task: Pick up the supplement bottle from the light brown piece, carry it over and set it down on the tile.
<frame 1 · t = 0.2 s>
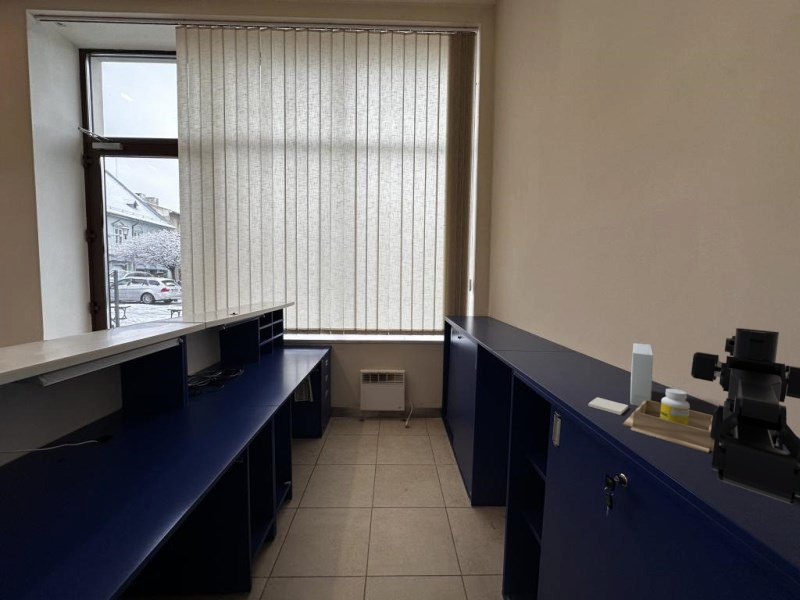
hand: (747, 369, 78), 17 cm above the table, tool horizontal, fingers open, 9 cm apart
supplement bottle: (672, 430, 82), resting in light brown piece
tile: (608, 406, 95), on the table
skincare box: (638, 397, 105), on the table
light brown piece: (672, 429, 82), on the table
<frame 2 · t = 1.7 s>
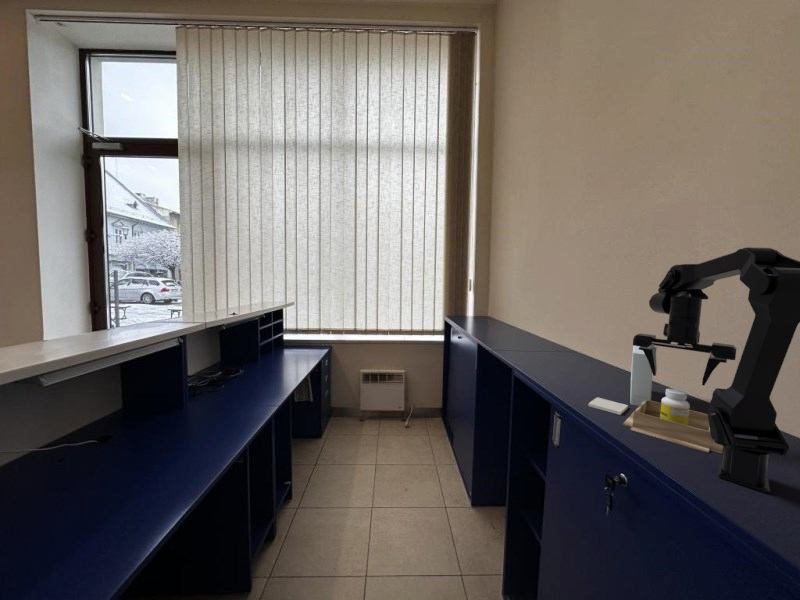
hand: (678, 380, 81), 13 cm above the table, tool pointing down, fingers open, 9 cm apart
nothing on the table moved.
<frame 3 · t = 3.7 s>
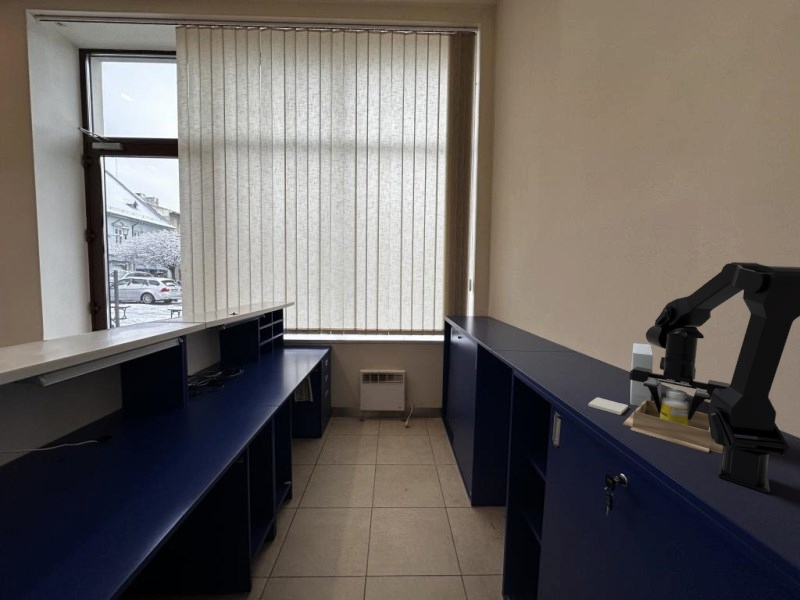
hand: (674, 415, 81), 4 cm above the table, tool pointing down, fingers closed on supplement bottle, 5 cm apart
supplement bottle: (672, 430, 82), resting in light brown piece, touching gripper
everything else where it was.
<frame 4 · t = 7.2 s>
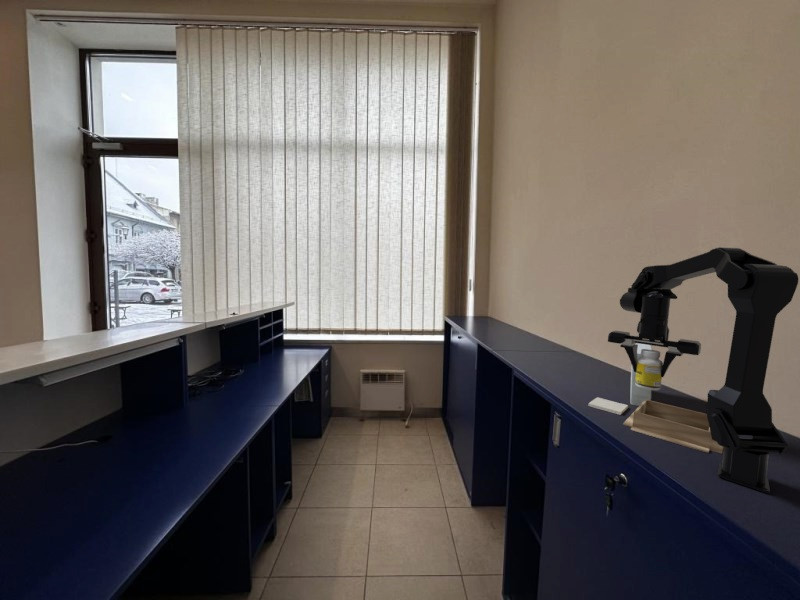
hand: (648, 374, 86), 12 cm above the table, tool pointing down, fingers closed on supplement bottle, 5 cm apart
supplement bottle: (647, 388, 87), point 8 cm above the table, touching gripper
everything else where it was.
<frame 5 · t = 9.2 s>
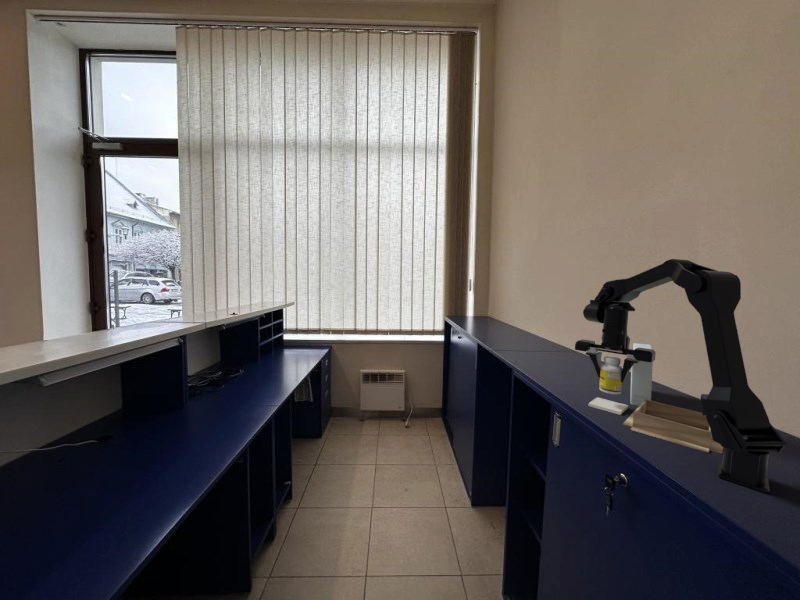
hand: (610, 379, 95), 8 cm above the table, tool pointing down, fingers closed on supplement bottle, 5 cm apart
supplement bottle: (609, 392, 95), point 4 cm above the table, touching gripper
everything else where it was.
when the fingers open (5 cm above the table, at t = 10.7 s): supplement bottle stays where it is, resting on tile.
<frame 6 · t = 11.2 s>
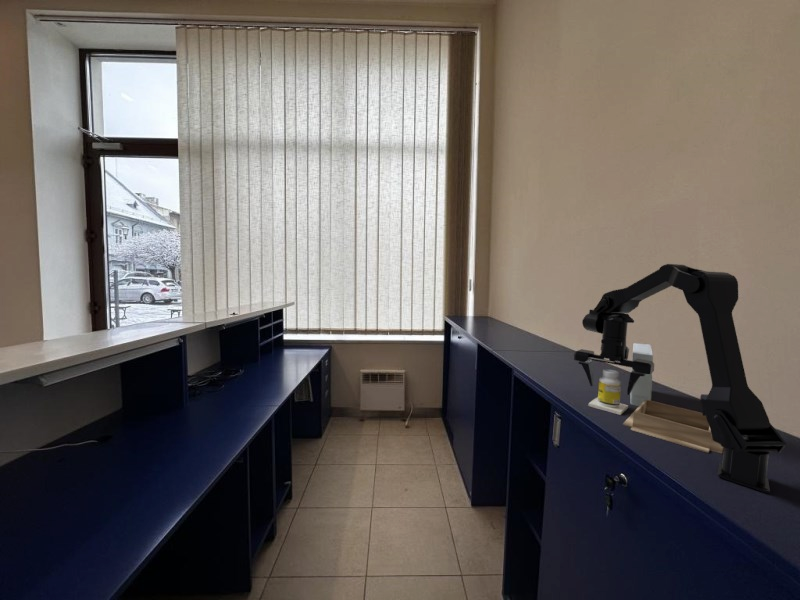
hand: (609, 390, 95), 5 cm above the table, tool pointing down, fingers open, 9 cm apart
supplement bottle: (608, 404, 95), point 1 cm above the table, touching tile
everything else where it was.
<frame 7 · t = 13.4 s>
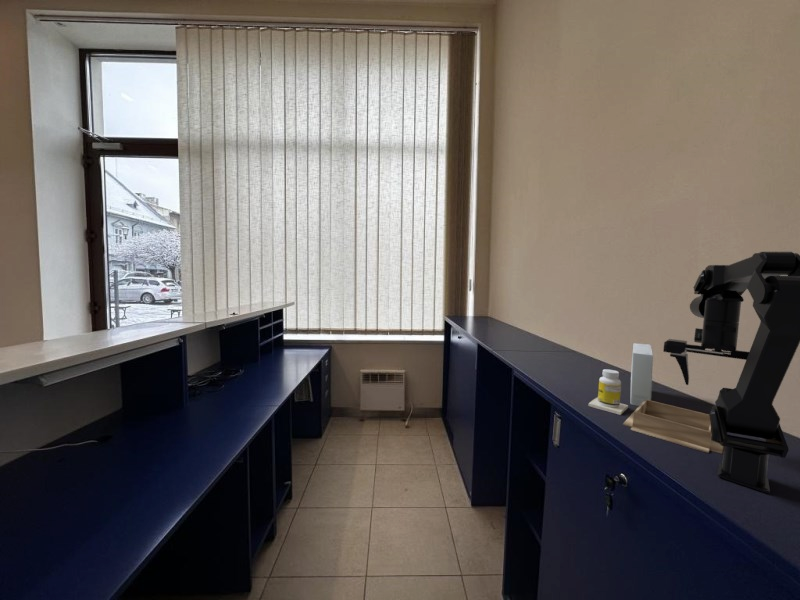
hand: (714, 389, 74), 12 cm above the table, tool pointing down, fingers open, 9 cm apart
nothing on the table moved.
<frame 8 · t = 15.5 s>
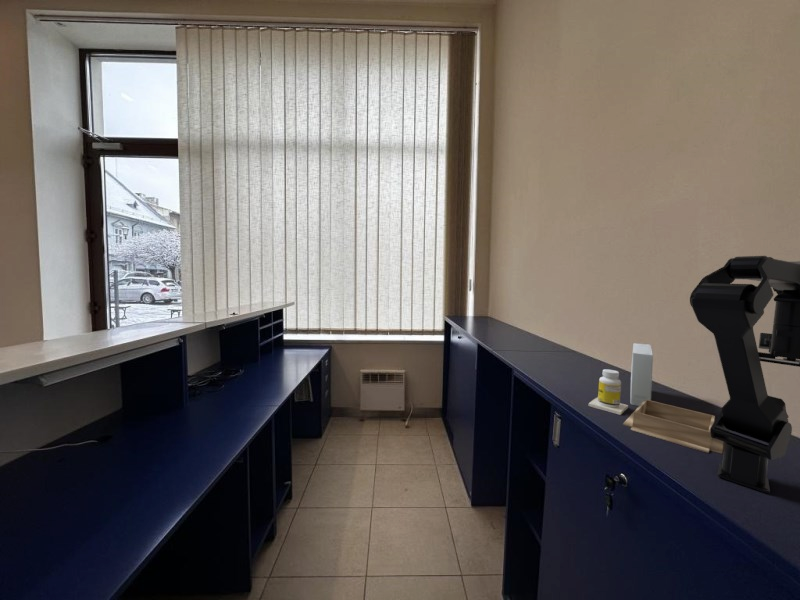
hand: (785, 403, 65), 13 cm above the table, tool pointing down, fingers open, 9 cm apart
nothing on the table moved.
at the end: supplement bottle 0.0 cm off-centre on the tile, point 0.6 cm above the tile's base; supplement bottle tilted 0°; the gripper is holding nothing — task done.
